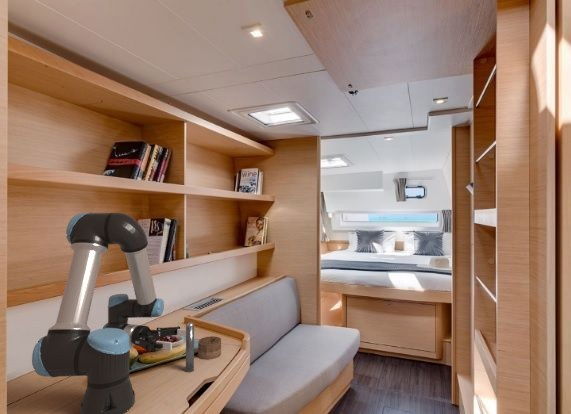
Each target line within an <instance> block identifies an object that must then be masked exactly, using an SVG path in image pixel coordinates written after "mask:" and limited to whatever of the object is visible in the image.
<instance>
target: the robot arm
mask: <svg viewBox="0 0 571 414" xmlns="http://www.w3.org/2000/svg"><path fill="white" fill-rule="evenodd" d="M65 235H66V239H67V242H68V243H69V244H70V248H71V250H73V255H72V260H71V263H70V266H69V271H68V274H67V275H68V276H67V279H66V282H65V287H64V290H63V294H62V298H61V303H60V306H59V311H58V314H57V317H56V321H55V323H54V325H53V326H51V327H50V328H48V330H47V334H46V335H44V336H43V337H41V338H39V339H38V341H37V343H35V346H34V348H33V350H32V354H31V364H32V368H33V369H34V372H35V373H36V374H37V375H38V376H41V377H48V378H49V377H50V378H57V377H80V376H81V377H83V376H84V377H87V378H86V379H87V381H86V383H87V384H86V388H85V389H86V390H85V393H84V395H83V399H82V401H81V404H80V407H79V414H123V413H124V412H125V413H127V412H128V411H129V409H130V408H131V407H132V408H133V407H134V406H135V403H136V392H135V390H134V388H133V384H132V381H131V379H130V357H131V356H130V355H131V353H130V349H131V346H132V345H135V346H136V347H137V346H139V347H140V348H141V349H144V350H145V351H147V352H150V351H151V352H155V351H156V350H163V351H172V350H173V342H171V341H161V339H163V338H165V337H171V336H173V337H174V336H177V337H183V338H186V328H185V329H183V328H181V326H169V327H156V329H151V328H150V327H149V326H148V325H144V324H143V325H141V324H140V325H139V324H131V323H128V322H129V318H130V319H132V318H133V319H134V318H140V319H141V318H143V319H144V318H159V317H161V316H162V315H163V313H164V311H165V302H164V299H162V298H157V294H156V291H155V285H154V280H153V275H152V272H151V271H152V270H151V266H150V261H149V256H148V251H147V247H148V246H149V241H148V238H147V237H148V236H147V235H146V232H145V230H144V228H143V227H142V226H141V225H140V223H139V222H138V221H137V220H136V219H135V218H133V217H132V216H130V215H129V214H126V213H123V212H90V211H89V212H83V213H82V212H81V213H78V214H75V215H74V216H72V218H71V219H70V220H69V222H68V224H67V226H66V232H65ZM109 245H118V246H119V249H120V251H121V252H122V253H123V254H124V255H125V258H126V262H127V267H128V270H129V274H130V279H131V284H132V288H133V291H134V295H135V298H131V299H130V298H129V295H128V294H127V293H117V294H112V295H110V296H109V297H108V303H107V323H105V324H104V325H103V327H102V328H98V329H95V330H92V331H91V328H90V327H89V326H88V324H87V323H88V320H89V316H90V315H89V314H90V310H91V307H92V301H93V296H94V293H95V292H94V291H95V288H96V284H97V283H96V282H97V279H98V275H99V274H98V273H99V270H100V266H101V260H102V255H104V254H105V253H107V252H108V251H109V250H108V249H109ZM132 408H131V409H132ZM131 409H130V410H131ZM127 410H128V411H127ZM126 411H127V412H126ZM125 413H124V414H125Z"/></svg>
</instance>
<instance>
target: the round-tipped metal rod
mask: <svg viewBox="0 0 571 414" xmlns="http://www.w3.org/2000/svg"><path fill="white" fill-rule="evenodd" d="M185 330H186V337H185V372H186V373H193V372H194V371H195V323H194V322H192V321H189V322H187V323H186V324H185Z"/></svg>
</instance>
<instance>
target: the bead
mask: <svg viewBox="0 0 571 414" xmlns="http://www.w3.org/2000/svg"><path fill="white" fill-rule="evenodd" d="M197 342H198V343H197V358H199V359H201V360H205V361H206V360H214V359H217V358H219V357H220V356H221V355H222V338H221V337H218V336H212V335H211V336H205V337H202V338H200V339H199V340H198V341H197Z"/></svg>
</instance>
